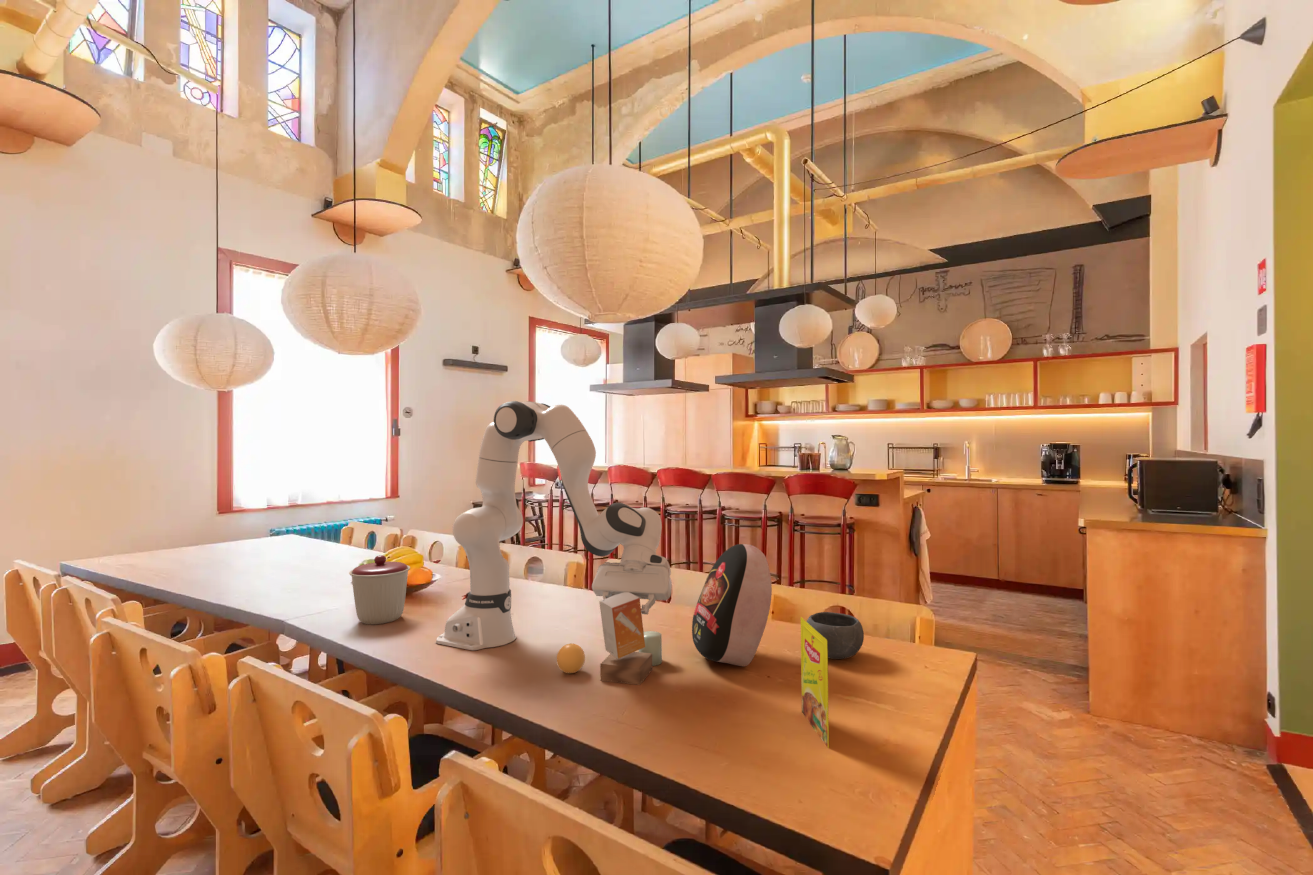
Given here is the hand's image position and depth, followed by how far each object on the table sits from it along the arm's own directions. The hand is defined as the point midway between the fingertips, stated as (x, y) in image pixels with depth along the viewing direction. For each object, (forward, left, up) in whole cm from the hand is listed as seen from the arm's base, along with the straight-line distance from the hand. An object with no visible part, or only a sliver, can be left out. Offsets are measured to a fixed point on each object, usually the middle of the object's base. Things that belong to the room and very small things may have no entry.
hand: (625, 611), depth 148 cm
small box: (0, 0, -9) cm, 9 cm away
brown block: (0, +1, -16) cm, 16 cm away
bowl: (+49, +27, -16) cm, 58 cm away
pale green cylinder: (+3, +11, -16) cm, 19 cm away
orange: (-14, -1, -12) cm, 19 cm away
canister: (-93, +25, -16) cm, 97 cm away
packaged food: (+23, +18, -16) cm, 33 cm away
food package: (+45, -16, -16) cm, 51 cm away
